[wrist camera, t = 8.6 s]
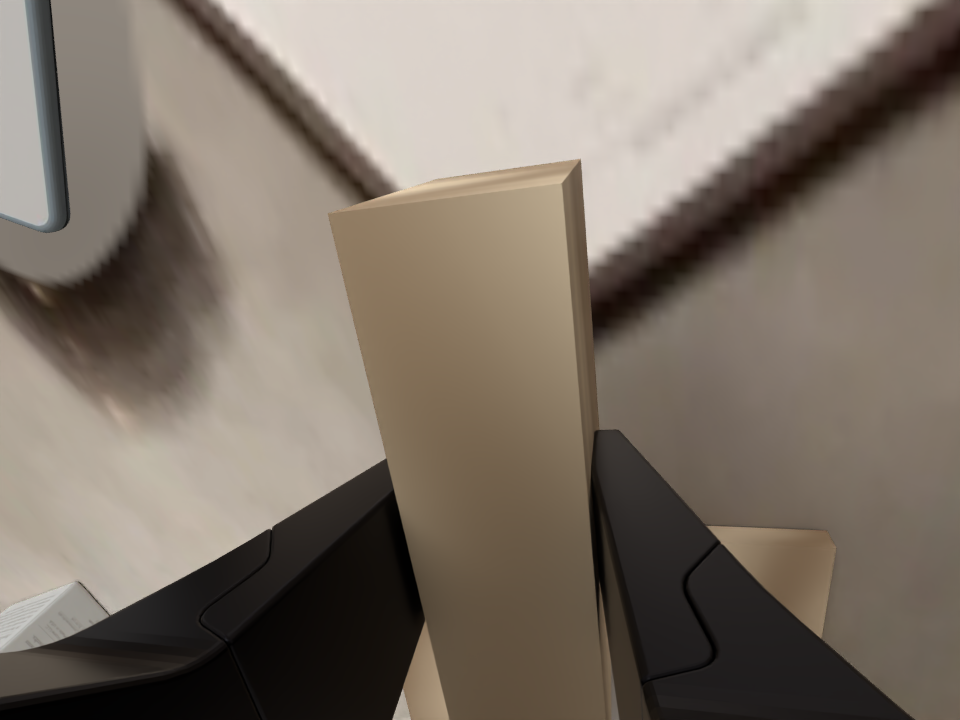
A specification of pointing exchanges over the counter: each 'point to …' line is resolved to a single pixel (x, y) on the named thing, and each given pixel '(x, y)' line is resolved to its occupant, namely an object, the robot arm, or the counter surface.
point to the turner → (490, 428)
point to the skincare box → (48, 618)
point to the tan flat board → (762, 551)
